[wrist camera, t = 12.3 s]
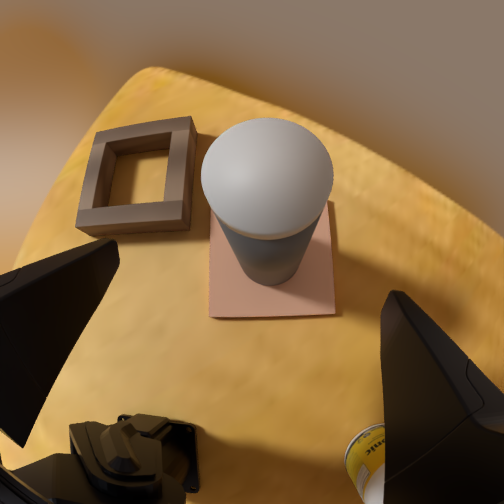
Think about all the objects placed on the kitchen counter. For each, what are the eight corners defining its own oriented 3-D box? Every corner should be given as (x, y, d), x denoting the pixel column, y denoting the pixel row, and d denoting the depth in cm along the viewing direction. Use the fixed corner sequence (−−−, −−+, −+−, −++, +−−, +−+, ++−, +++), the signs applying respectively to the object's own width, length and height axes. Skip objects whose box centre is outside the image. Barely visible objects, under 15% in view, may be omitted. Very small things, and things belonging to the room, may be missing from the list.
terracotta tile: (333, 313, 21) (335, 313, 21) (210, 317, 22) (208, 316, 21) (325, 199, 24) (326, 195, 23) (212, 202, 24) (211, 199, 24)
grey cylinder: (302, 284, 22) (340, 230, 9) (239, 286, 22) (198, 235, 10) (299, 224, 23) (324, 117, 10) (238, 226, 23) (204, 121, 11)
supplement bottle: (410, 417, 19) (478, 454, 9) (400, 473, 18) (454, 528, 8) (346, 424, 19) (391, 479, 10) (338, 482, 18) (370, 552, 8)
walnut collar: (190, 230, 24) (181, 219, 21) (90, 235, 24) (75, 226, 22) (197, 132, 26) (191, 116, 24) (107, 145, 27) (96, 132, 24)
